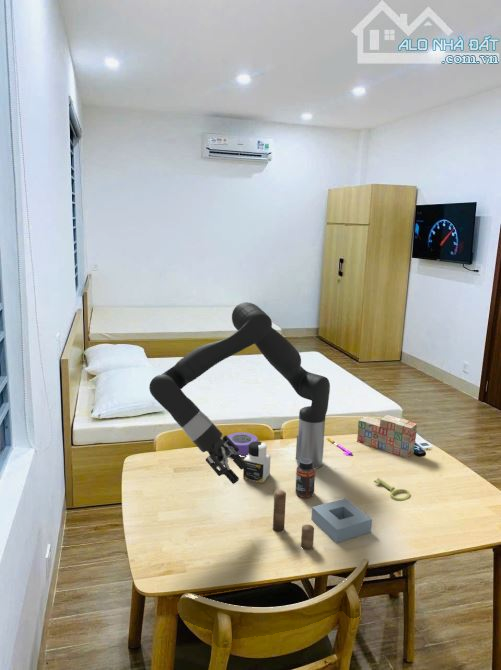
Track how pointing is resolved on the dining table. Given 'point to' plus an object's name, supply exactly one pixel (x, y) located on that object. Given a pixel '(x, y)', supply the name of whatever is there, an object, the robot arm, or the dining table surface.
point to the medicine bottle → (257, 462)
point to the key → (393, 490)
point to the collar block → (342, 529)
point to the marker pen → (341, 448)
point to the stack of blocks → (388, 434)
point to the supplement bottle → (305, 478)
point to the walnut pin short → (307, 537)
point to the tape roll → (242, 441)
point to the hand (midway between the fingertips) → (240, 474)
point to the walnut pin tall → (279, 510)
